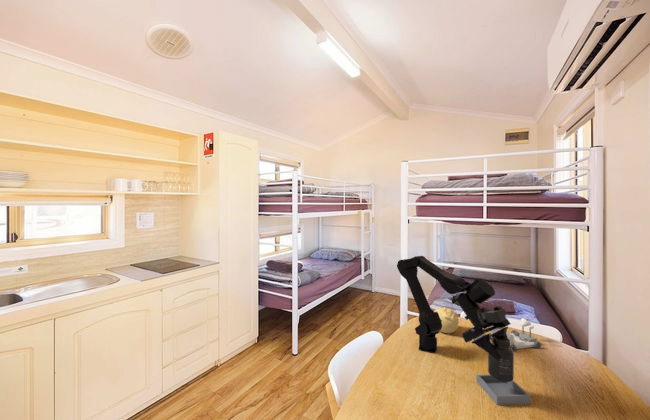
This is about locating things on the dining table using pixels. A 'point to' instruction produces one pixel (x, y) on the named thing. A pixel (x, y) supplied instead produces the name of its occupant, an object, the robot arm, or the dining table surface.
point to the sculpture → (448, 320)
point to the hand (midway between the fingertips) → (505, 356)
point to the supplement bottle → (501, 359)
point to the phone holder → (521, 337)
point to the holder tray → (503, 391)
